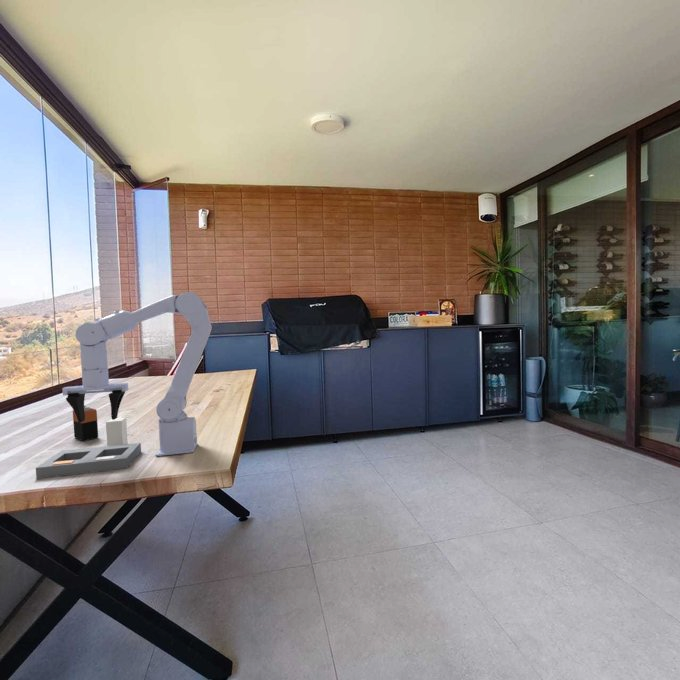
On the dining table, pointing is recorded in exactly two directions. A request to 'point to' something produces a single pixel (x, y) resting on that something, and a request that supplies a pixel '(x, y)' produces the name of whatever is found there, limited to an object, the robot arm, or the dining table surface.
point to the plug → (116, 431)
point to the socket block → (89, 460)
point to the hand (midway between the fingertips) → (98, 420)
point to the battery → (86, 425)
